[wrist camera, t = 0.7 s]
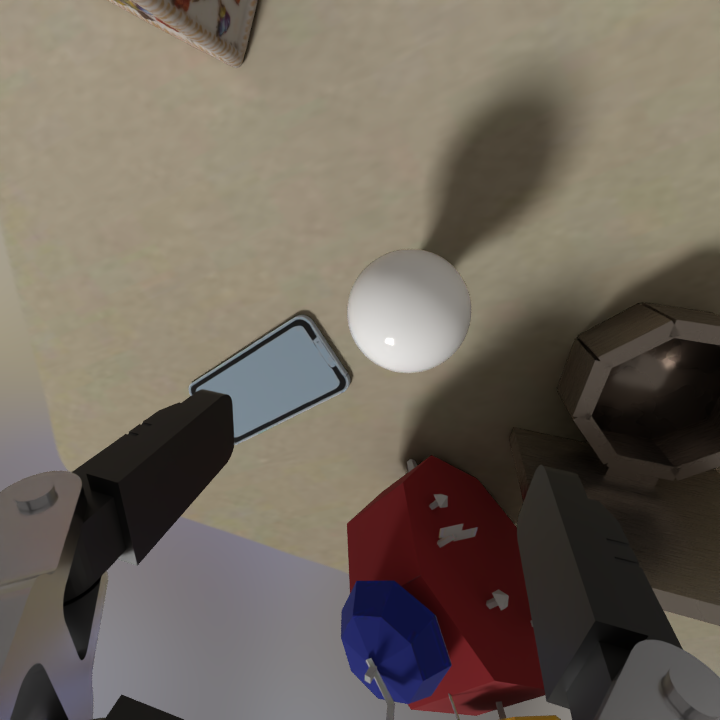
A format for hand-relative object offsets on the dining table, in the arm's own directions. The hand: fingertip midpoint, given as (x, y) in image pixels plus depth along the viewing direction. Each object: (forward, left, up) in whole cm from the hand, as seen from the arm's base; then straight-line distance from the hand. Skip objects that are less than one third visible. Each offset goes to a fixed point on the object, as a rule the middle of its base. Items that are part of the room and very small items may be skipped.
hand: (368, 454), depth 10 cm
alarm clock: (+16, +6, -19) cm, 26 cm away
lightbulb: (-1, 0, -19) cm, 19 cm away
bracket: (+4, +16, -19) cm, 25 cm away
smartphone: (+10, -12, -19) cm, 25 cm away
